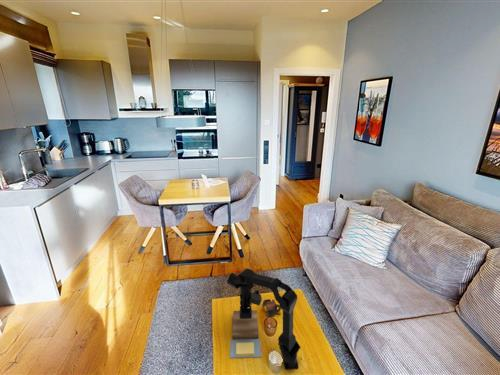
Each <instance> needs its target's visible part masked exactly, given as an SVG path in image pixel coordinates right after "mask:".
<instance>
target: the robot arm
mask: <svg viewBox="0 0 500 375" xmlns="http://www.w3.org/2000/svg"><path fill="white" fill-rule="evenodd" d="M226 282H227V285H229V286H231V287H233V288H234V289H236V290H237V289H239V304H240V306H239V311H240V319H251V318H252V310H253V309H252V304H253V305H257V306H261V302H263V298H262V294H261V293H260V291H259V289H255V290H254V291H253V292H252V288H254V287H255V285H256V286H260V287H262V288H266V289H269V290H270V291H271V292H272V293H273V295H274V300H275V302H277V303H278V305H280V308H281V310H282V332H281V333H280V335H279V336H278V339H277V341H278V344H277V345H278V347H279V350H280V352H281V356H282V358H284V360H283V365H284V369H285V370H298V369H299V365H298V364H299V362H298V360H297V358H298V353H299V351H300V349H301V345H300V344H299V342H298V341H297V338H296V335H295V334H294V309H295V307H296V305H297V301H298V294H296V292H295V291H294V290H293V289H292V287H290V285H288V284H286V283H284V282H282V280H280V278H278V277H275V278H274V277H270V276H266V275H262V274H259V273H255V272H254V270H253V269H250V268H244V269H243V270H242V271H240V272H239V273H238V274H235V273H234V272H231V273H229V276H228V278H227V281H226ZM279 288H280V289H282V290H284V293H283V294H282V295H280V291H279Z"/></svg>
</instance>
